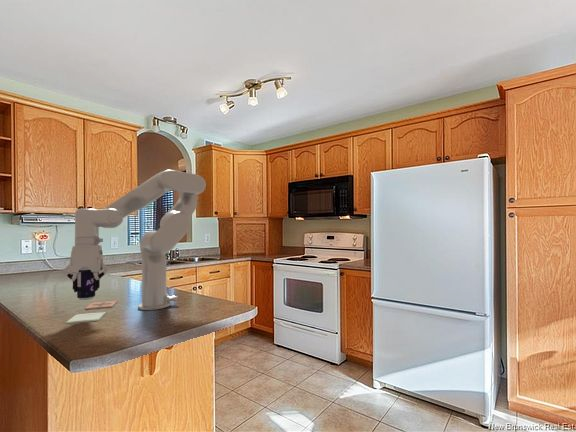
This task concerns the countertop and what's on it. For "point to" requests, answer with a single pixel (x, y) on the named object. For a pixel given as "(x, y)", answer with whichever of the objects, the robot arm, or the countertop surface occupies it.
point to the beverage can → (85, 284)
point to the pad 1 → (86, 317)
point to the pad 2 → (101, 305)
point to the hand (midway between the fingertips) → (86, 290)
